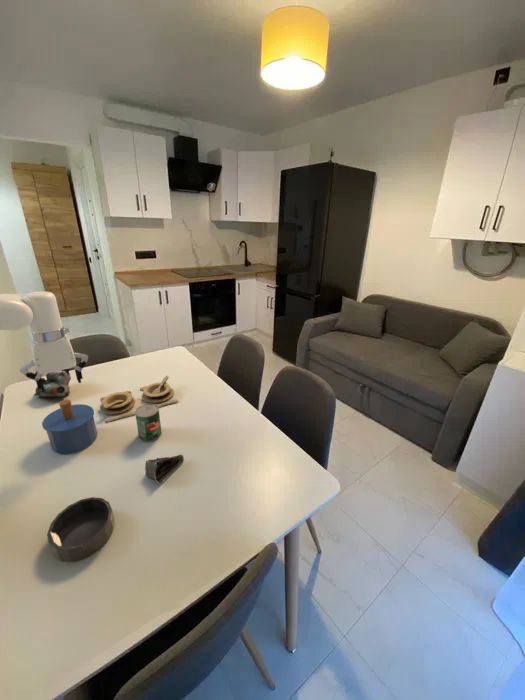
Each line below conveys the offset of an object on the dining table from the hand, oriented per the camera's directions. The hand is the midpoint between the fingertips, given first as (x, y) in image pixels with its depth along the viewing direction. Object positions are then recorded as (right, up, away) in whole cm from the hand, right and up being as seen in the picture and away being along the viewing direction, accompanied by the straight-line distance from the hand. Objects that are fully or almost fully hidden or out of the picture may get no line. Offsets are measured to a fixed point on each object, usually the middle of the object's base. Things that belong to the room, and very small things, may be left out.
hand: (61, 385), depth 91 cm
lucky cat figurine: (-28, -8, +37) cm, 47 cm away
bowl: (+19, -35, -19) cm, 44 cm away
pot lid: (-2, -12, +7) cm, 14 cm away
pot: (-3, -21, +11) cm, 24 cm away
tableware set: (+10, -11, +34) cm, 37 cm away
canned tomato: (+22, -20, +15) cm, 34 cm away
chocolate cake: (+32, -27, +1) cm, 42 cm away
